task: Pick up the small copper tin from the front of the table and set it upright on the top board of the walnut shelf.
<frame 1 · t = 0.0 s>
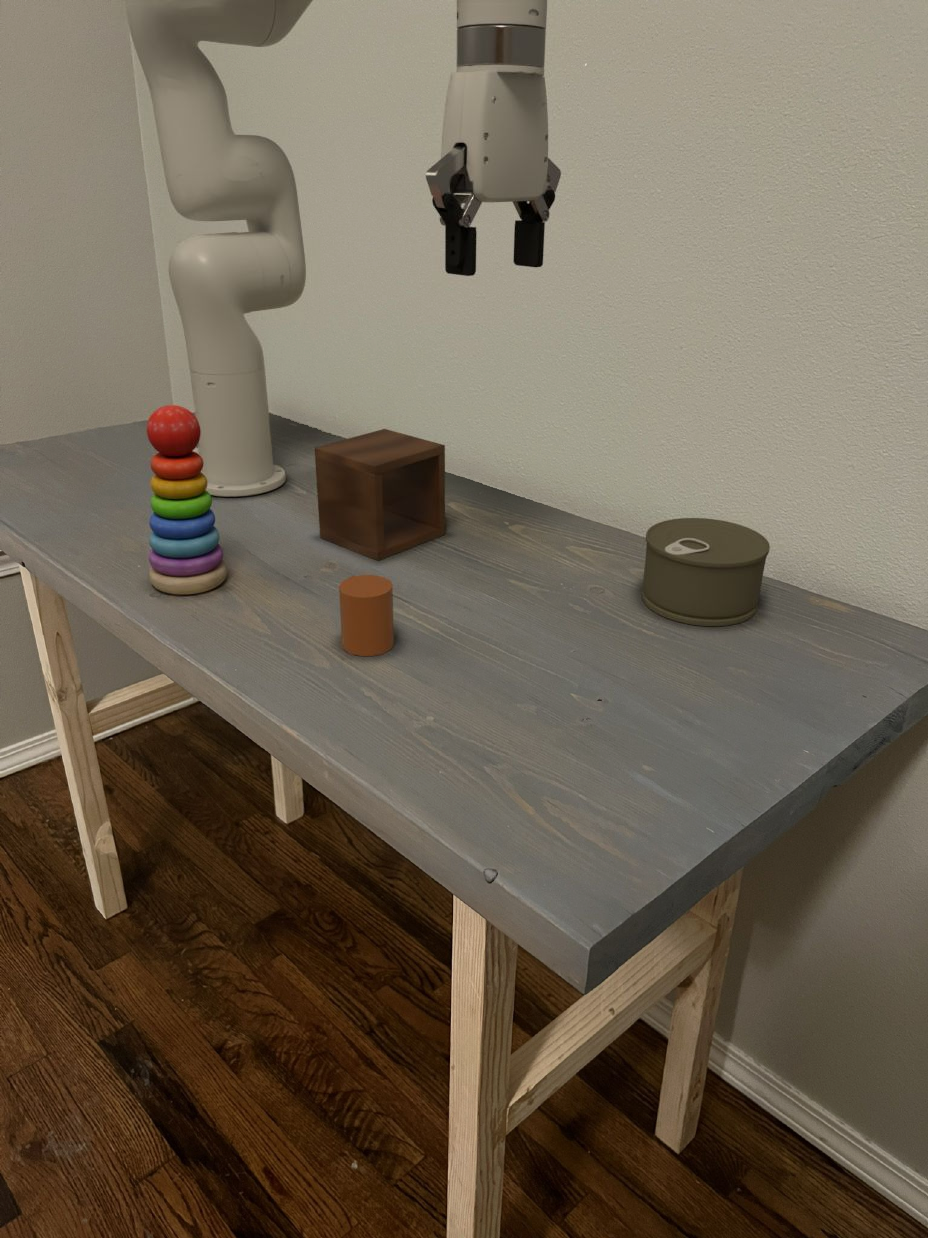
hand: (495, 269, 86), 31 cm above the table, tool pointing down, fingers open, 9 cm apart
stacking toy: (189, 583, 98), on the table
copper tin: (368, 643, 86), on the table
shelf: (382, 536, 110), on the table
can: (698, 602, 95), on the table
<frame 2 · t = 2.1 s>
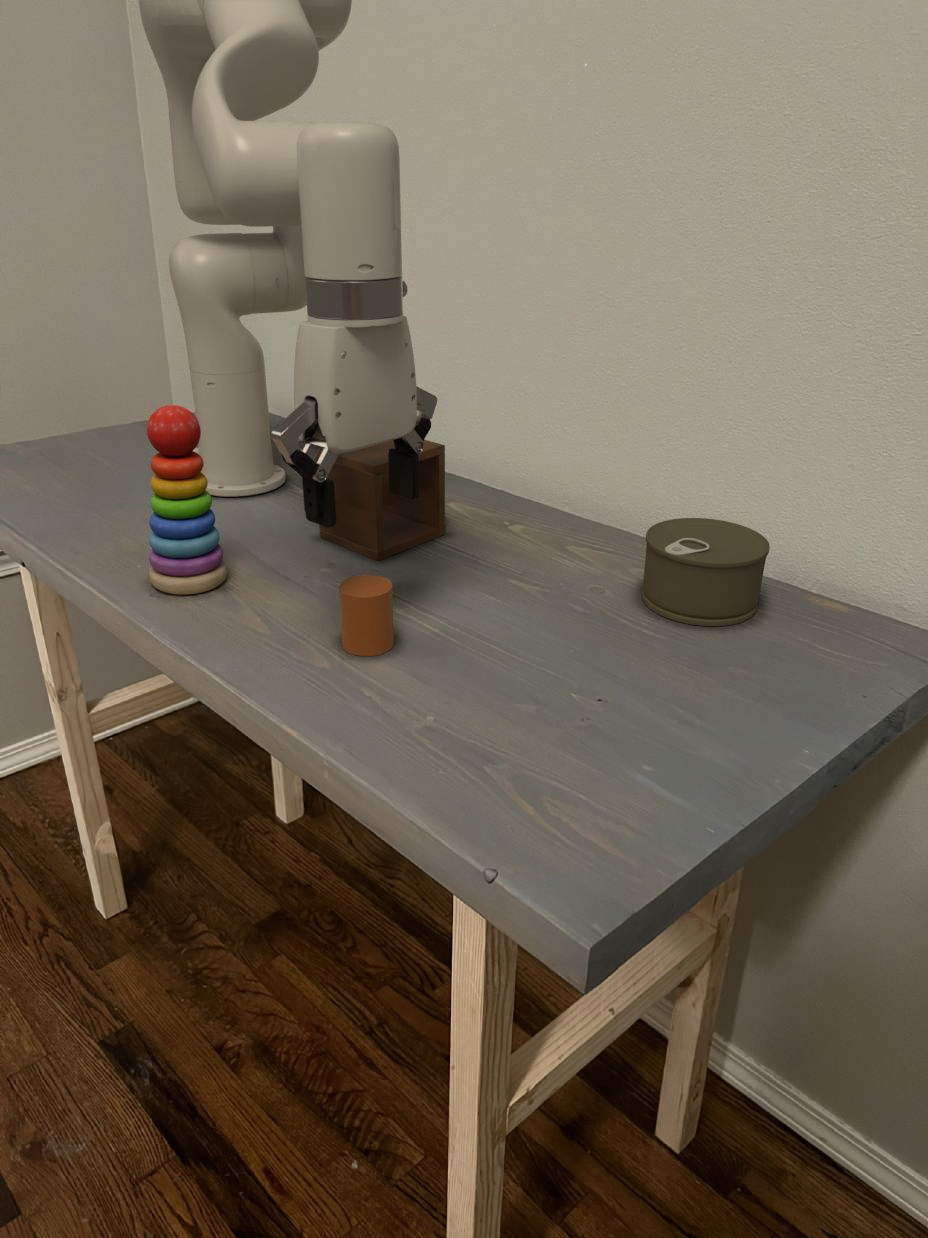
hand: (364, 508, 80), 13 cm above the table, tool pointing down, fingers open, 9 cm apart
nothing on the table moved.
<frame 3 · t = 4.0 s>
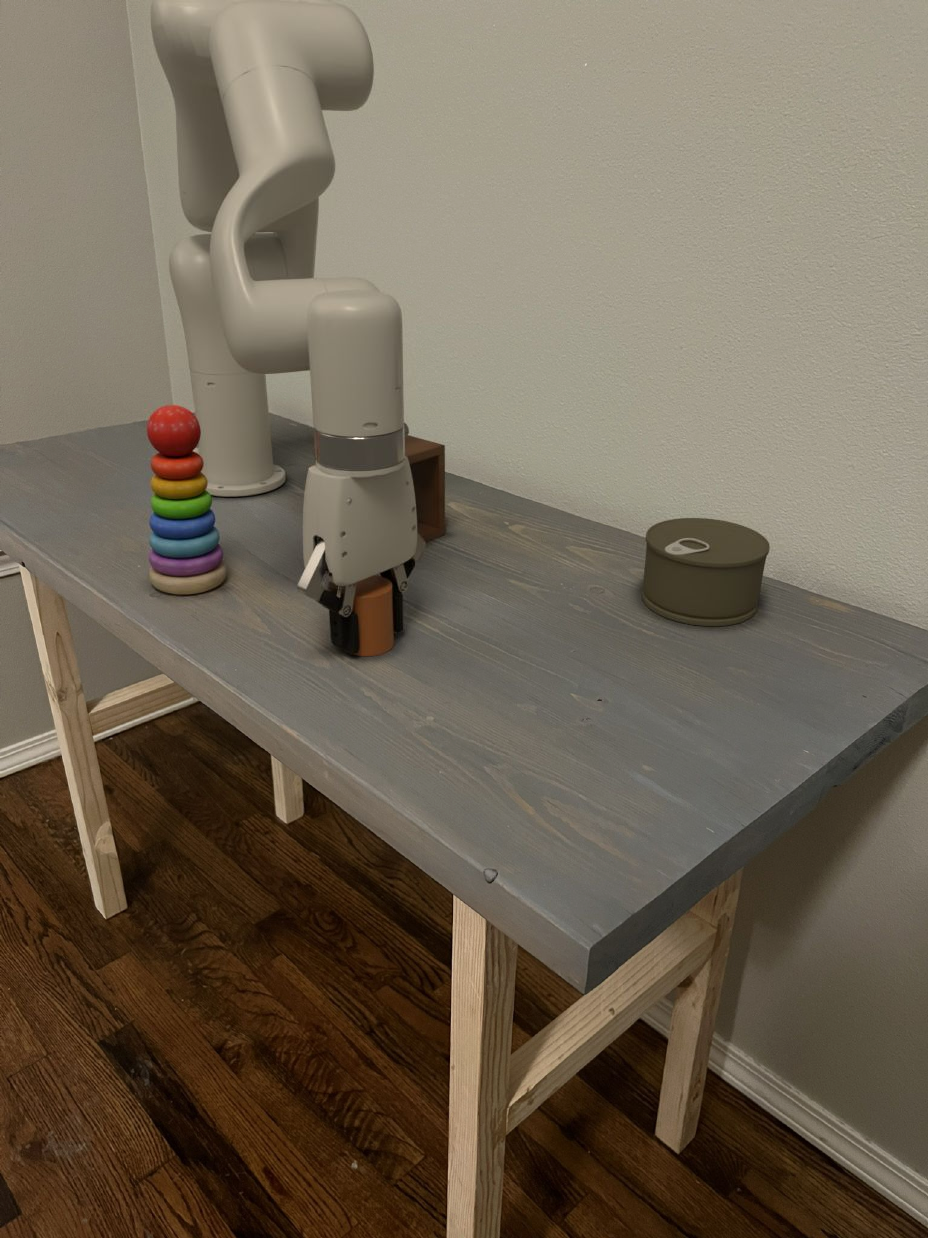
hand: (367, 636, 86), 1 cm above the table, tool pointing down, fingers closed on copper tin, 4 cm apart
copper tin: (368, 643, 86), on the table, touching gripper
everything else where it was.
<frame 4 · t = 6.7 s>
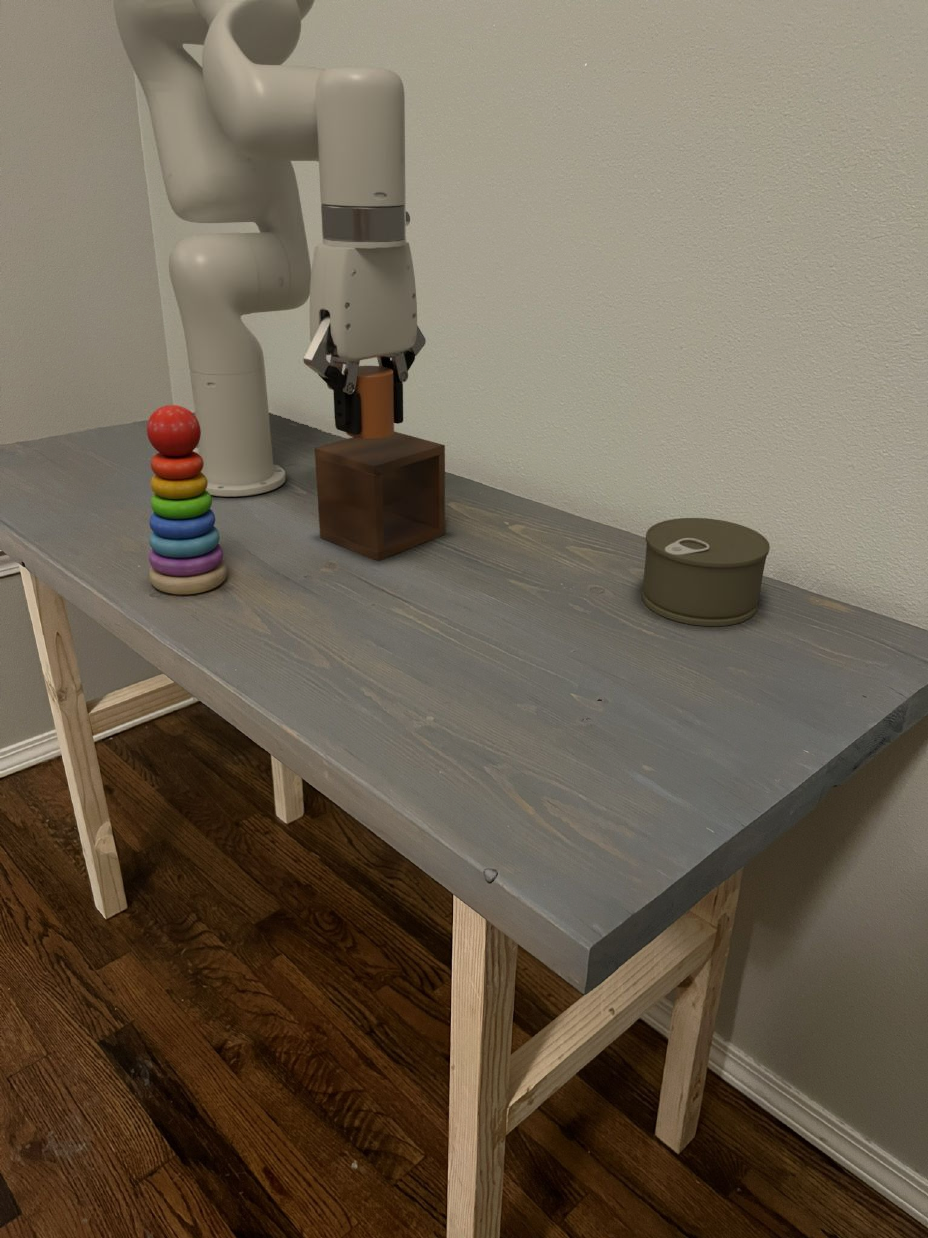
hand: (369, 424, 91), 17 cm above the table, tool pointing down, fingers closed on copper tin, 4 cm apart
copper tin: (370, 431, 92), point 16 cm above the table, touching gripper
everything else where it was.
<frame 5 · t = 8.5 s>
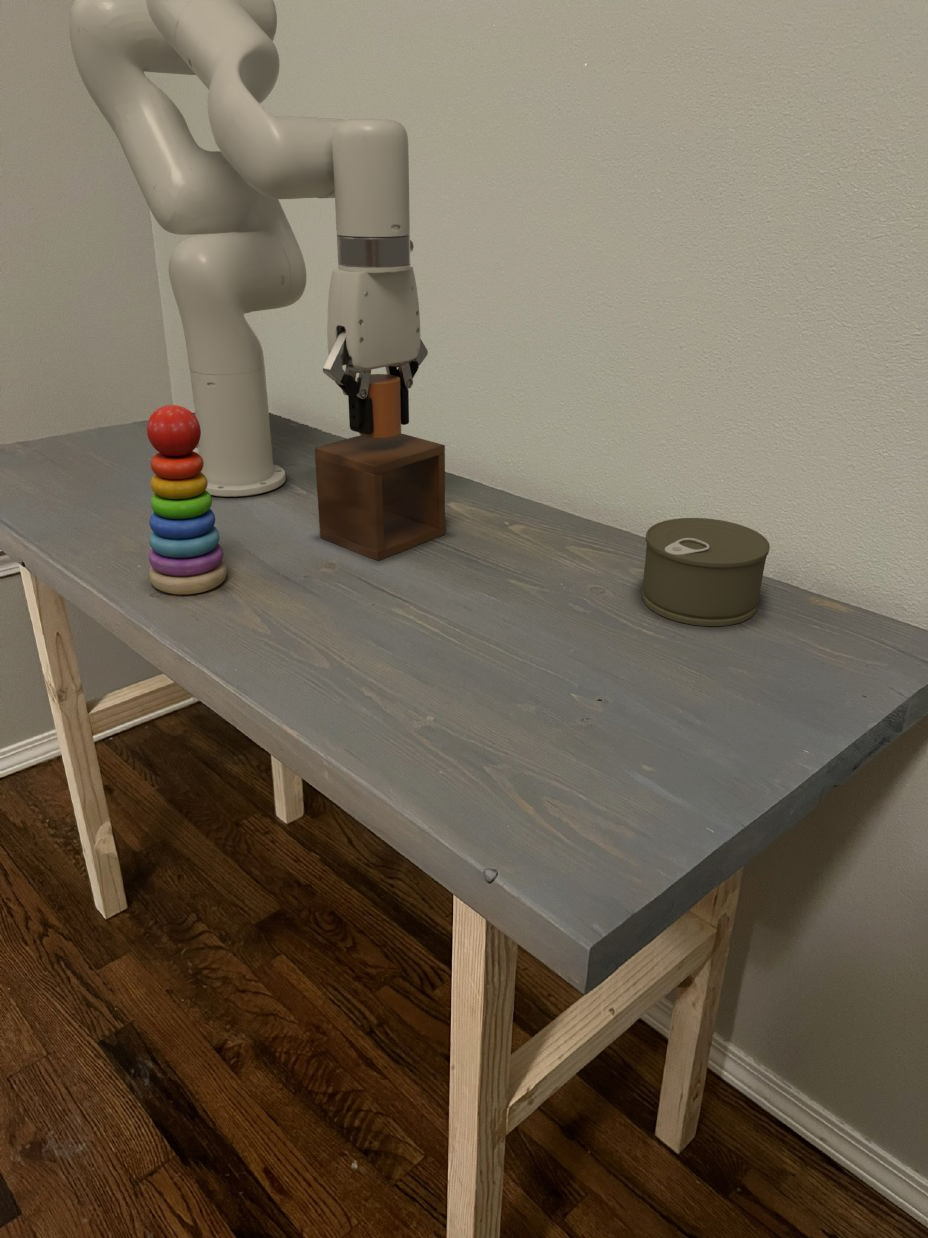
hand: (379, 425, 104), 13 cm above the table, tool pointing down, fingers closed on copper tin, 4 cm apart
copper tin: (380, 432, 104), point 13 cm above the table, touching gripper
everything else where it was.
when the fingers open (12 cm above the table, at t = 9.4 s): copper tin stays where it is, resting on shelf.
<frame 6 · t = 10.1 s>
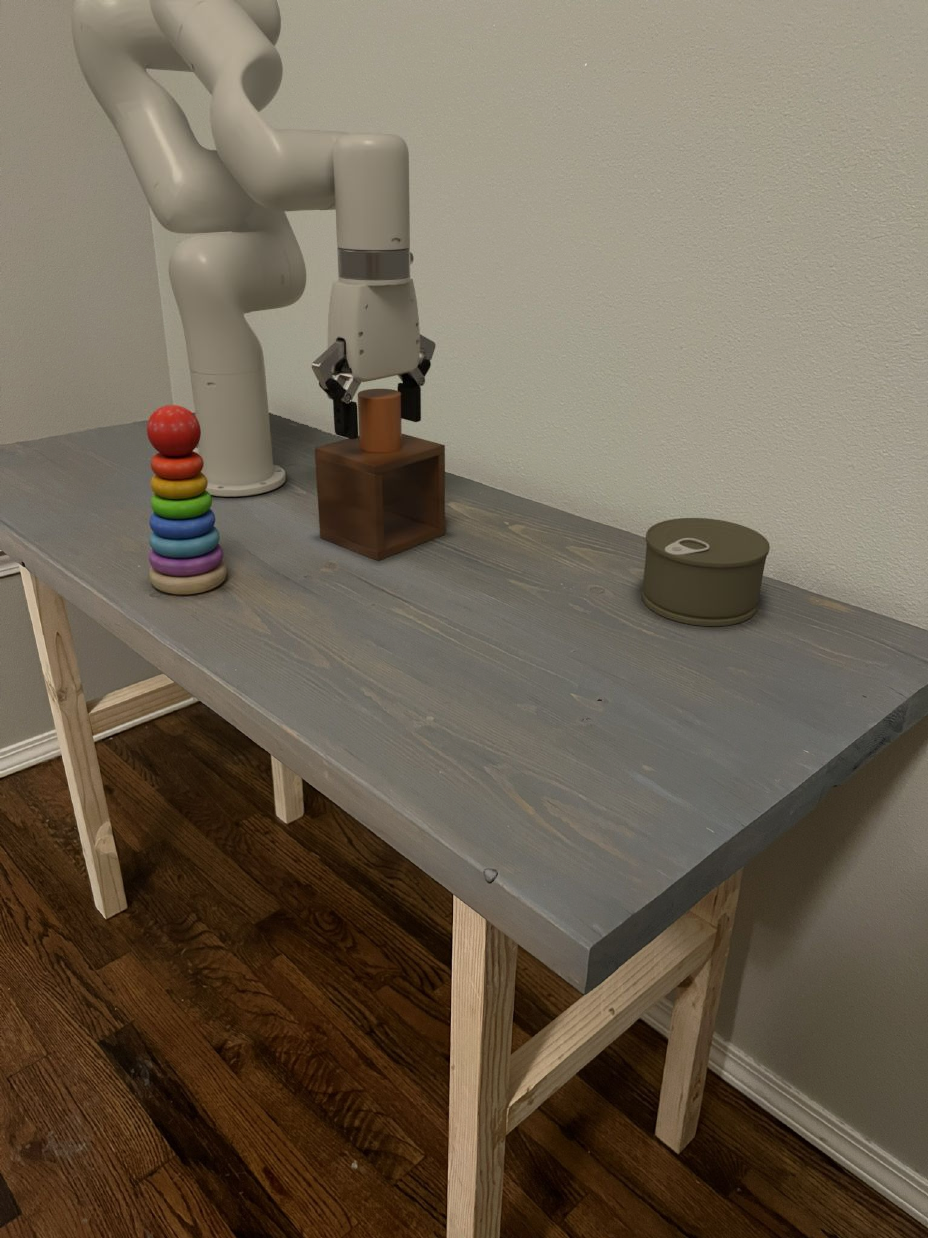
hand: (378, 427, 104), 13 cm above the table, tool pointing down, fingers open, 9 cm apart
copper tin: (380, 446, 105), point 11 cm above the table, touching shelf
everything else where it was.
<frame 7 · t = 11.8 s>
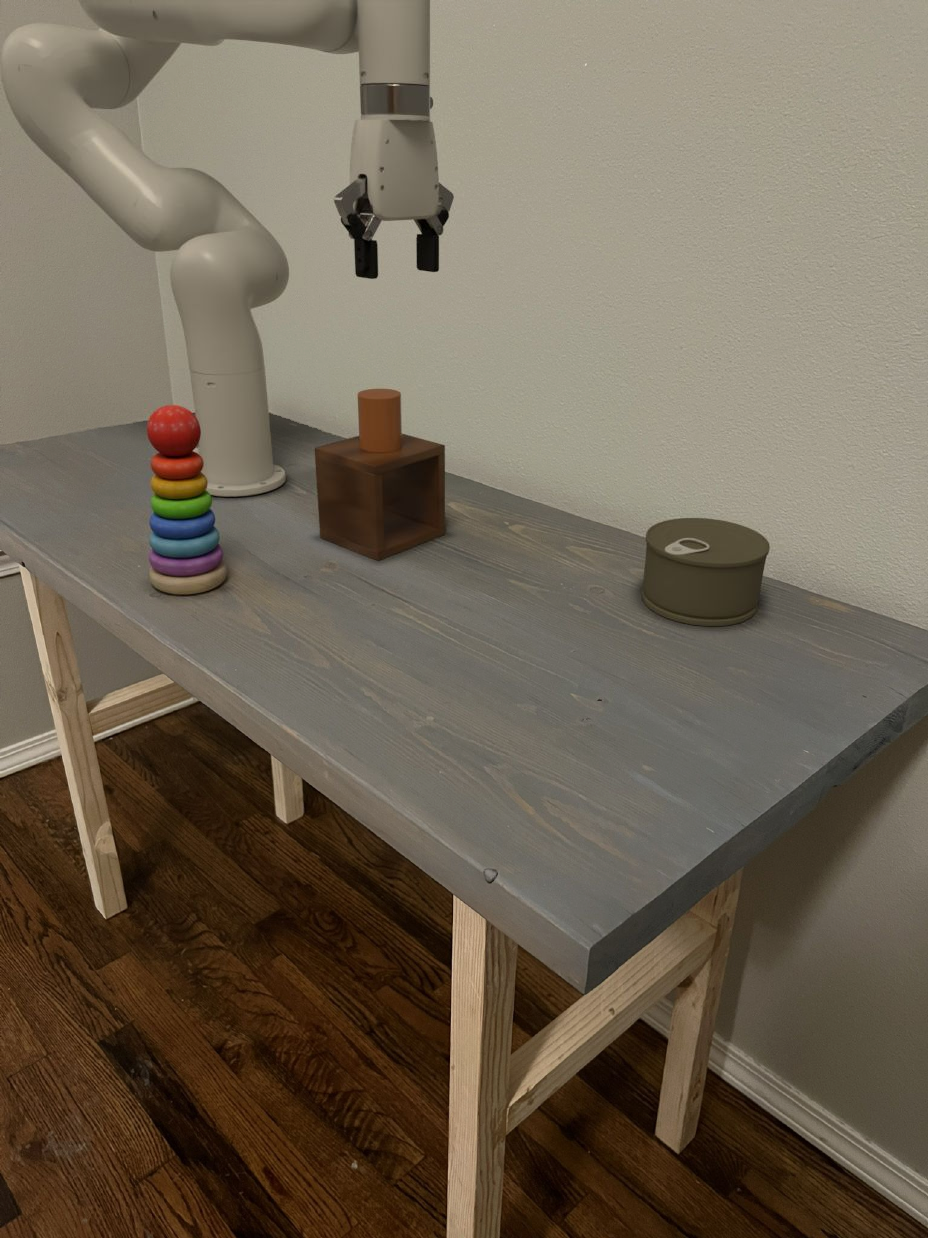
hand: (398, 273, 108), 28 cm above the table, tool pointing down, fingers open, 9 cm apart
nothing on the table moved.
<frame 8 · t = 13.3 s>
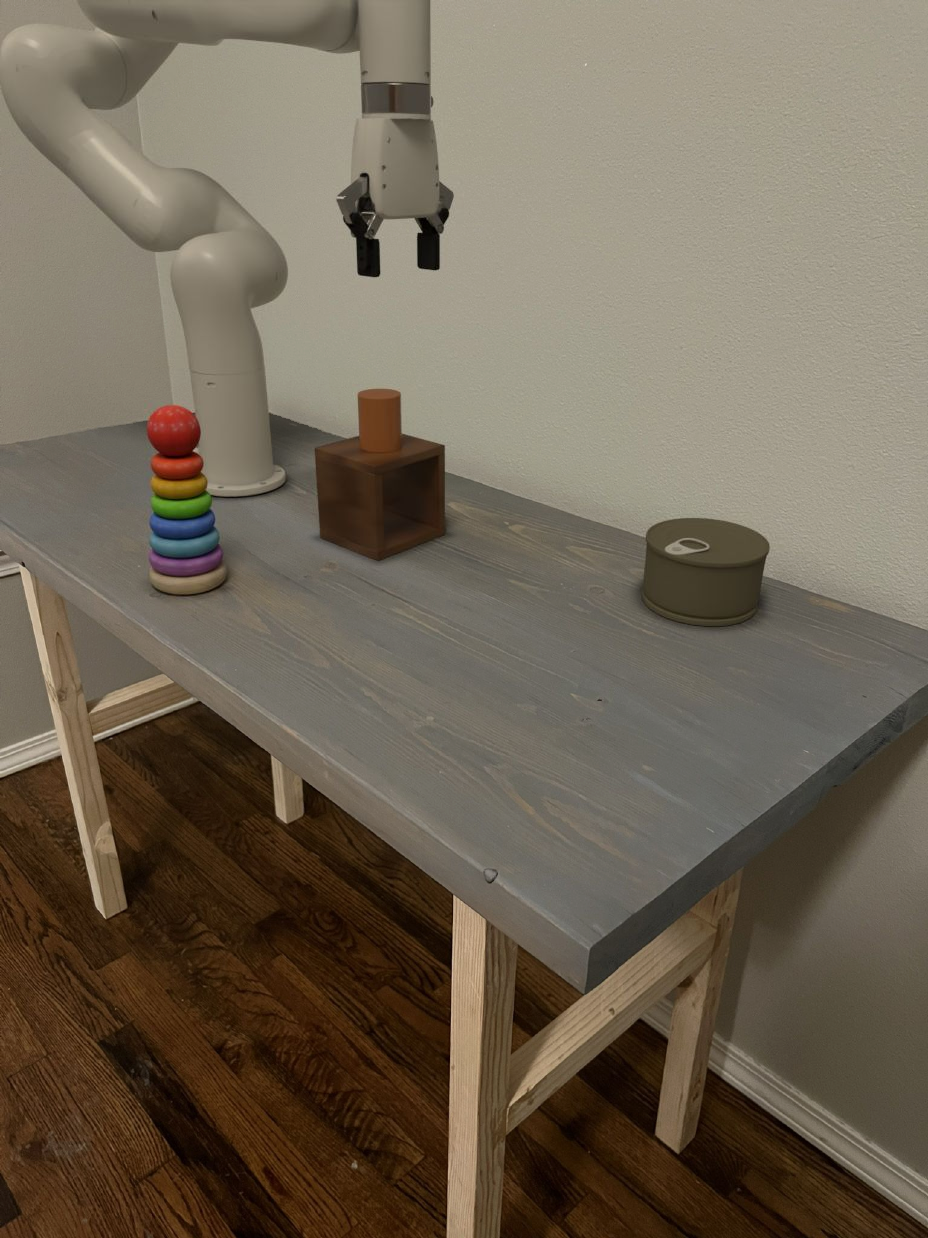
hand: (399, 272, 108), 28 cm above the table, tool pointing down, fingers open, 9 cm apart
nothing on the table moved.
at the end: copper tin inside the target area on the shelf (0.1 cm from its centre), point 11.0 cm above the shelf's base; copper tin tilted 0°; the gripper is holding nothing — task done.
